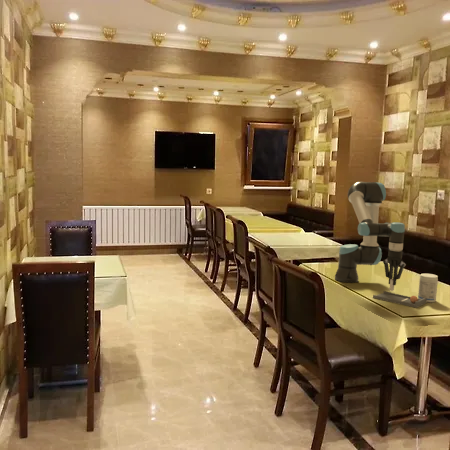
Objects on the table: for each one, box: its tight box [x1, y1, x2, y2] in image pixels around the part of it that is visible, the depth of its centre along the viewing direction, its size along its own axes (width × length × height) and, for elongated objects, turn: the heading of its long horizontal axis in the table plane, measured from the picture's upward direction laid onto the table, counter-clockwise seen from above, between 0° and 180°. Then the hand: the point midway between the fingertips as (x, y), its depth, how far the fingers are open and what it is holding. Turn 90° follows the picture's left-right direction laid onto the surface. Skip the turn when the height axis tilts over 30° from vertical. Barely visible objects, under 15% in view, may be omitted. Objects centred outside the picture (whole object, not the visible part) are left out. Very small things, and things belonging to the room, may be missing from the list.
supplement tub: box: [417, 273, 439, 303], centre depth 271 cm, size 10×10×15 cm
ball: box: [409, 295, 418, 303], centre depth 264 cm, size 4×4×4 cm
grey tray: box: [372, 290, 427, 309], centre depth 270 cm, size 25×14×3 cm, turn 46°
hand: (391, 290), depth 274 cm, fingers closed
